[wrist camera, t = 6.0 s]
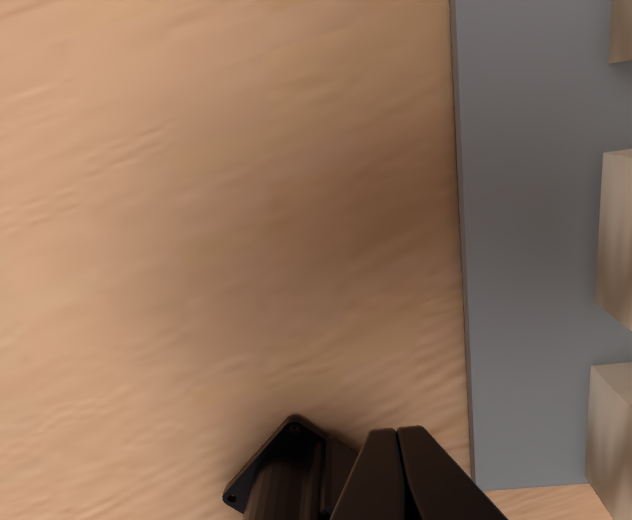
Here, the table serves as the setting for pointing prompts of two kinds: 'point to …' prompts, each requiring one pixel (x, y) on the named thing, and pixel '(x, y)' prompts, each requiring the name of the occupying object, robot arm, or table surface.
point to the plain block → (615, 237)
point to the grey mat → (534, 227)
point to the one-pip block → (610, 437)
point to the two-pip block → (621, 31)
